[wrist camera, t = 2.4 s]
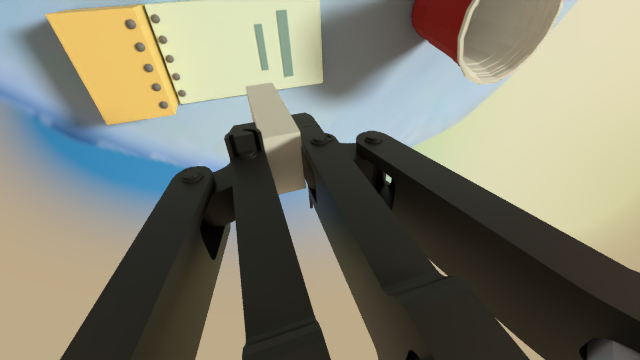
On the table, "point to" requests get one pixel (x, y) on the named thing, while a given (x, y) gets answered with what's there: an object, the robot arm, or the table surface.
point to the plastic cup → (486, 32)
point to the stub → (117, 61)
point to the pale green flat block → (238, 45)
